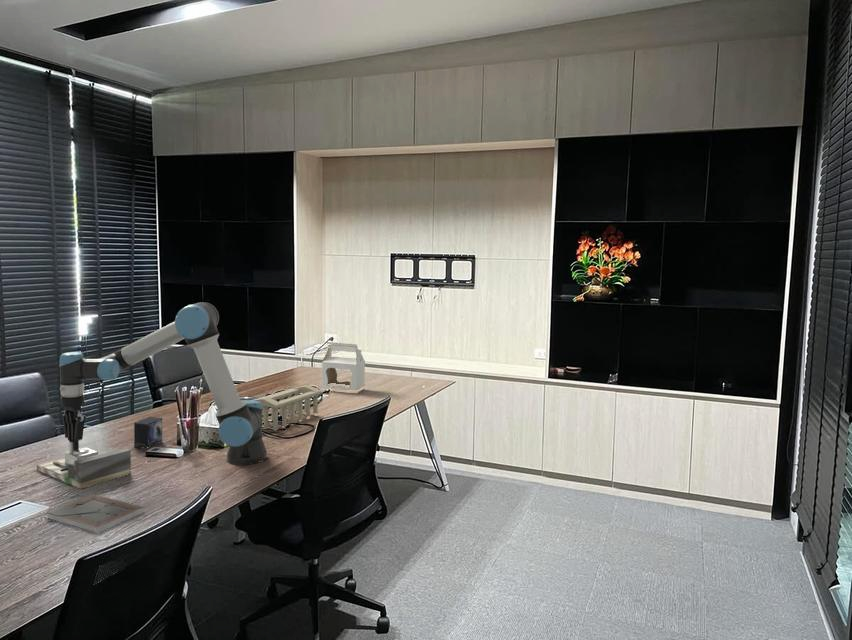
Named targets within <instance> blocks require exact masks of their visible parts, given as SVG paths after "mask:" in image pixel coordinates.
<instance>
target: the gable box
mask: <svg viewBox="0 0 852 640" xmlns="http://www.w3.org/2000/svg"><path fill="white" fill-rule="evenodd" d="M332 351H334V352H335V351H336V352H347V353H349V352H350V353H355V355H356V356H355V357H356V358H353V357H351V358H350V357H339V356H332ZM365 366H366V361H365V359H364V356H363V355H362V350H361V349H358V345H357V344H356V343H353V344H352V343H342V342H331V343H330V346H329V347H326V353H325V356H324V358H323V359H322V361H321V389H322V388H332V389H340V390H358V389H360V388H361V387H363V386H364V387H365V377H366V374H365V373H366V367H365ZM336 369H337V370H341V371H343V370H344V371H347V370H348V371H350V372H351V377H350V380H348V381H347V380H346V381H338V372H337V370H336ZM330 383H336V384H345V385H350V387H349V388H345V387H342V386H332V387H330V386H328V384H330Z"/></svg>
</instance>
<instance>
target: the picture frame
mask: <svg viewBox="0 0 852 640" xmlns="http://www.w3.org/2000/svg"><path fill="white" fill-rule="evenodd" d="M142 512H145V507H144V506H140V505H137V504H134V503H130V502H129V503H128V502H126V501H122V500H118V499H114V498H110V497H106V496H102V495H99V494H93V495H91V496H88V497H85V498H83V499H80V500H77V501H74V502H72V503H70V504H67V505H65V506H62V507H61V506H60V507H58V508H56V509H53V510H50V511H47V512H46V515H47V516H46V517H47V519H49V518H50V519H49V520H52V519H53V521H55V520H56V522H59V523H62V524H65V523H66V525H69V524H70V525H69V526H72V525H74V526H73V527H75V526H77V527H76V528H79V527H80V528H79V529H82V528H84V529H83V530H85V529H87V530H86V531H89V530H91V531H90V532H92V531H94V532H93V533H95V532H97V533H96V534H99V533H102V532H103V531H105V529H106V530H107V528H108V529H110V528H112V527H114V525H115V526H116V524H117V525H119V524H121V523H123V522H125V520H126V521H128V520H130V519H133V518H135V517H137V516H139V515H141V514H143V513H142ZM140 513H141V514H140ZM138 514H139V515H138ZM136 515H137V516H136ZM134 516H135V517H134ZM127 519H128V520H127ZM122 521H123V522H122ZM120 522H121V523H120ZM118 523H119V524H118ZM109 527H110V528H109ZM98 532H99V533H98Z"/></svg>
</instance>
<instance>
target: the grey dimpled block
mask: <svg viewBox="0 0 852 640" xmlns="http://www.w3.org/2000/svg"><path fill="white" fill-rule="evenodd" d="M98 453H99V452H98V451H97V450H95V449H91V448H89V447H85V446H84V447H82V448H79V449H78V450H73V451H66V452H64V458H65V465H68V466H70V467H74V461H75V460H79V459H83V458H87V457H91V456H95V455H99V454H98ZM70 467H68V468H70ZM68 468H64V469H61V472H62V471H66V470H68Z"/></svg>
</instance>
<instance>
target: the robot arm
mask: <svg viewBox="0 0 852 640" xmlns="http://www.w3.org/2000/svg"><path fill="white" fill-rule="evenodd" d="M219 321H220V314H219V310H217V308H216V307H215V305H213V304H211V303H209V302H206V301H205V302H203V301H201V302H196V303H193V304H188V305H187V306H184V307H183V308H181V309H180V310H178V312H177V314H176V315H175V319H174V321H173V322H170V323H168V324H167V325H166V326H165V325H164V326H163V327H161V328H159V329H157V330H155V331H153V332H151V333H150V334H147V335H146V336H143V337H142V338H139V339H138V340H136V341H134V342H132V343H130V344H128V345H126V346H124V347H122V348H120V349H118V350H116V351H114V352H112V353H109V354H108V355H104V356H103V357H100V358H84V354H83V353H82V352H80V351H79V352H77V351H70V352H69V351H68V352H63V353H61V355H59V365H58V367H59V378H60V379H59V381H60V382H59V383H60V385H59V386H60V387H59V391H60V407H61V408H64V410H62V411H60V416H61V420H62V425H63V426H62V427H63V433H64V438H65V439H67V440H68V450H69V451H73V450H78V449H80V443H79V442H80V441H81V440H83V437H84V427H85V421H86V419H87V417H86V415H83V414H82V412H83V411H82V408H81V407H82V406H84V405H85V395H84V394H85V381H84V380H96V381H98V380H100V381H110V380H111V381H113V380H116V379H117V378H118V376H119V374H120V373H121V372H124V371H125V370H126V369H129V368H130V367H132V366H133V365H136V364H137V363H140V362H142V361H143V360H146V359H147V358H149V357H151V356H153V355H156V354H157V353H160V352H161V351H164V350H165V349H167V348H169V347H171V346H173V345H175V344H177V343H180V341H182V340H184V341H185V343H186V345H187V347H189V348H191V349H193V351H194V353H195V356H196V358H197V361H198V363H199V366H200V368H201V371H202V373H203V376H204V378H205V380H206V383H207V385H208V388H209V391H210V393H211V396H212V398H213V401H214V403H215V406H216V408H217V411H216V413H215V417H216V420H217V423H218V424H219V426H218V436H219V438H220V440H221V441H222V443H224V444H225V445H227V446H229V447H228V451H227V453H226V461H227V462H228V463H231V464H234V465H241V464H246V465H251V464H250V463H255V464H257V463H256V462H259V461H262V460H264V459H265V458H266V457H267V456H268V455H267V449H266V447H265V444H264V439H263V407H262V403H261V402H259V401H251V400H241V398H240V395H239V393H238V390H237V388H236V385H235V383H234V379H233V377H232V374H231V372H230V370H229V368H228V365H227V363H226V360H225V357H224V355H223V352H222V350H221V347H220V345H219V342H218V339H219V336H220V333H219V330H218V327H217V326H218V324H219ZM69 451H68V452H69ZM266 459H267V458H266ZM266 459H265V460H266ZM265 460H264V461H265ZM262 462H263V461H262ZM259 463H260V462H259Z"/></svg>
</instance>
